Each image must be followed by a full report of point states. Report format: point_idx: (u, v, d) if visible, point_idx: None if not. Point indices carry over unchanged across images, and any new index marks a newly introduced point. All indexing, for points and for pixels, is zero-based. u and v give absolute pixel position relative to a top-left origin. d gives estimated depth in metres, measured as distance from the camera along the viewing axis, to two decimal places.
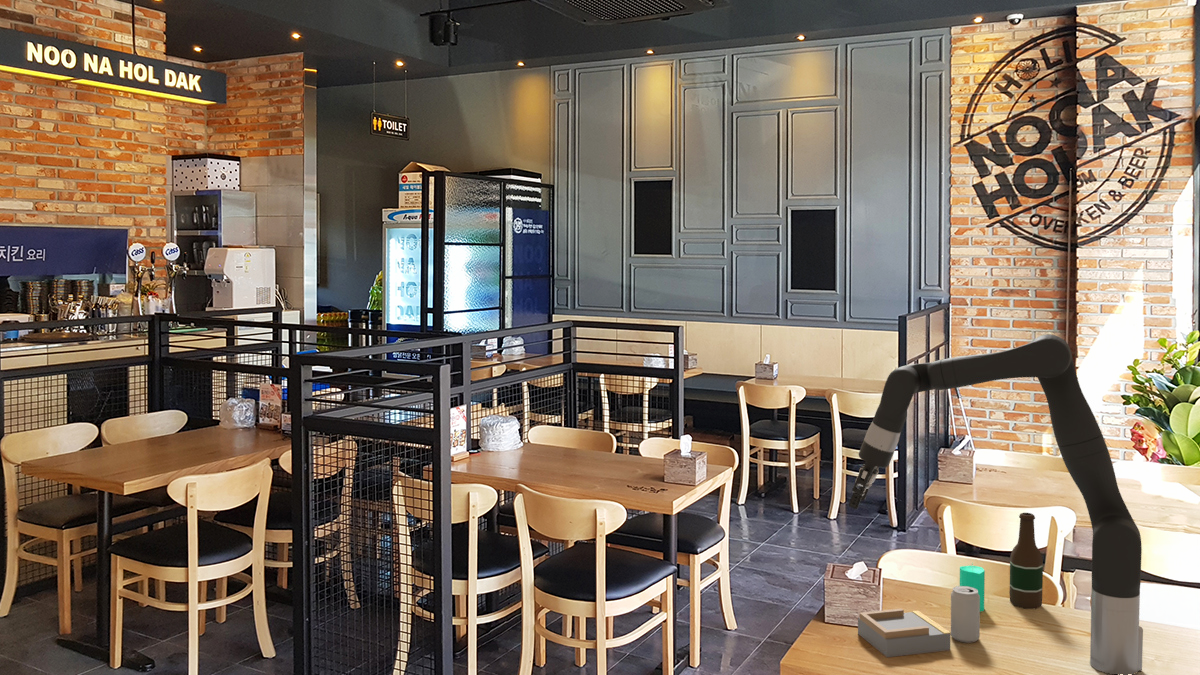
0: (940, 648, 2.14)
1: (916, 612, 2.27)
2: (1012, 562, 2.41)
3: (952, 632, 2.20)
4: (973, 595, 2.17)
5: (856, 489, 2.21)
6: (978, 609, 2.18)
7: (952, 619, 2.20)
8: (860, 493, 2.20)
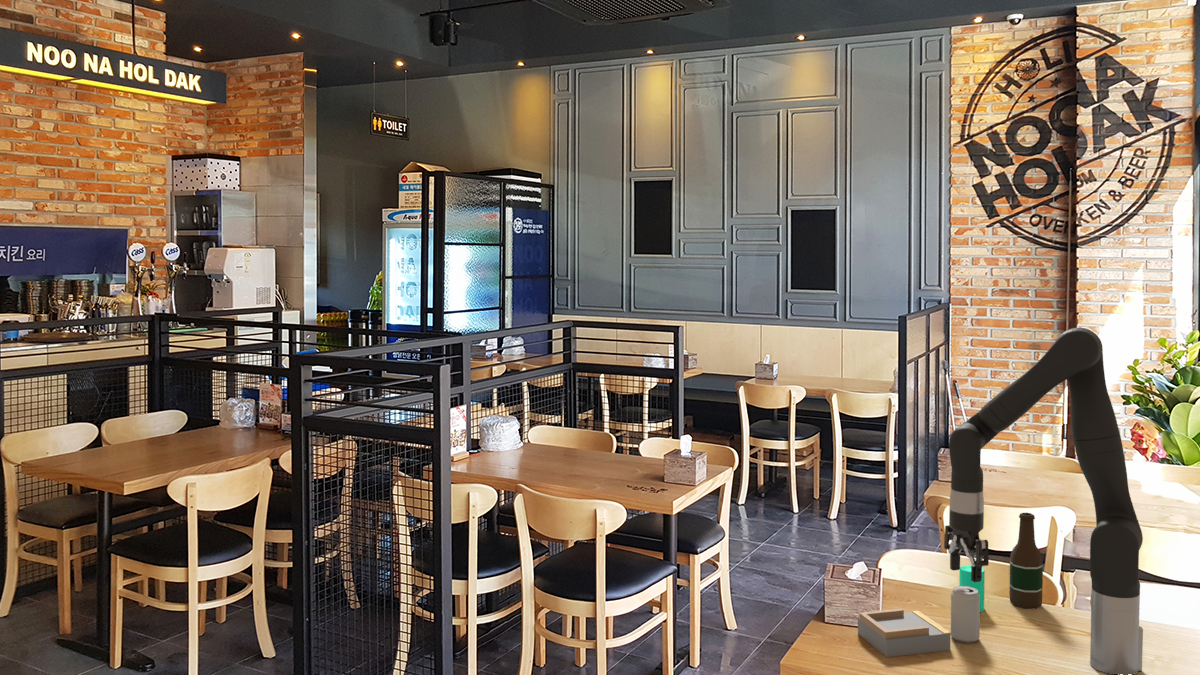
0: (940, 648, 2.14)
1: (916, 612, 2.27)
2: (1012, 562, 2.41)
3: (952, 632, 2.20)
4: (973, 595, 2.17)
5: (981, 562, 2.12)
6: (978, 609, 2.18)
7: (952, 619, 2.20)
8: (986, 564, 2.13)
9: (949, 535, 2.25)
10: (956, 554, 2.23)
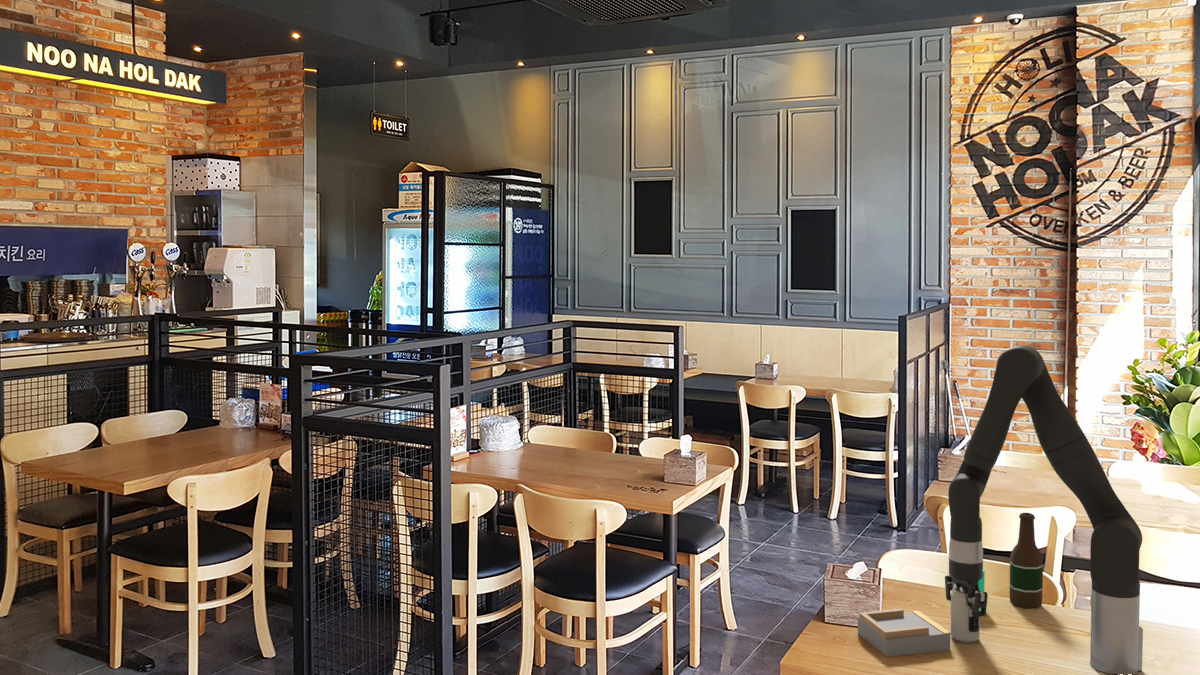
0: (940, 648, 2.14)
1: (916, 612, 2.27)
2: (1012, 562, 2.41)
3: (952, 632, 2.20)
4: None
5: (979, 613, 2.14)
6: None
7: (952, 619, 2.20)
8: (983, 615, 2.14)
9: (949, 585, 2.25)
10: None
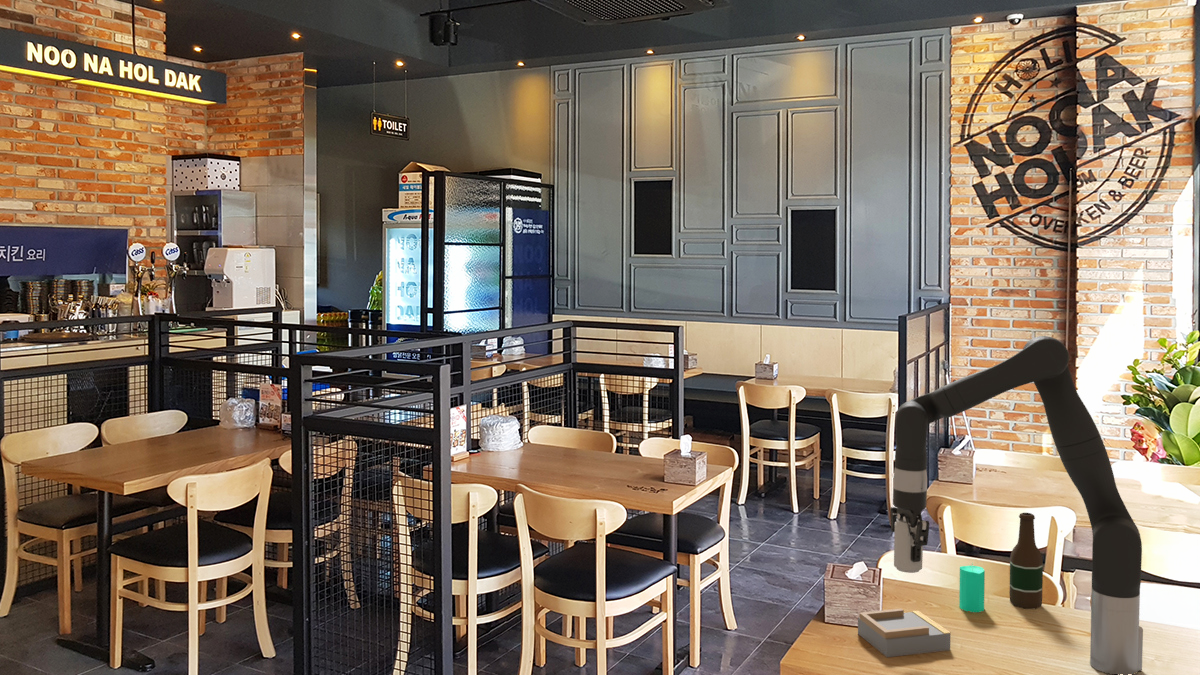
0: (940, 648, 2.14)
1: (916, 612, 2.27)
2: (1012, 562, 2.41)
3: (895, 562, 2.19)
4: None
5: (920, 542, 2.12)
6: None
7: (895, 549, 2.18)
8: (925, 544, 2.13)
9: (894, 516, 2.23)
10: None
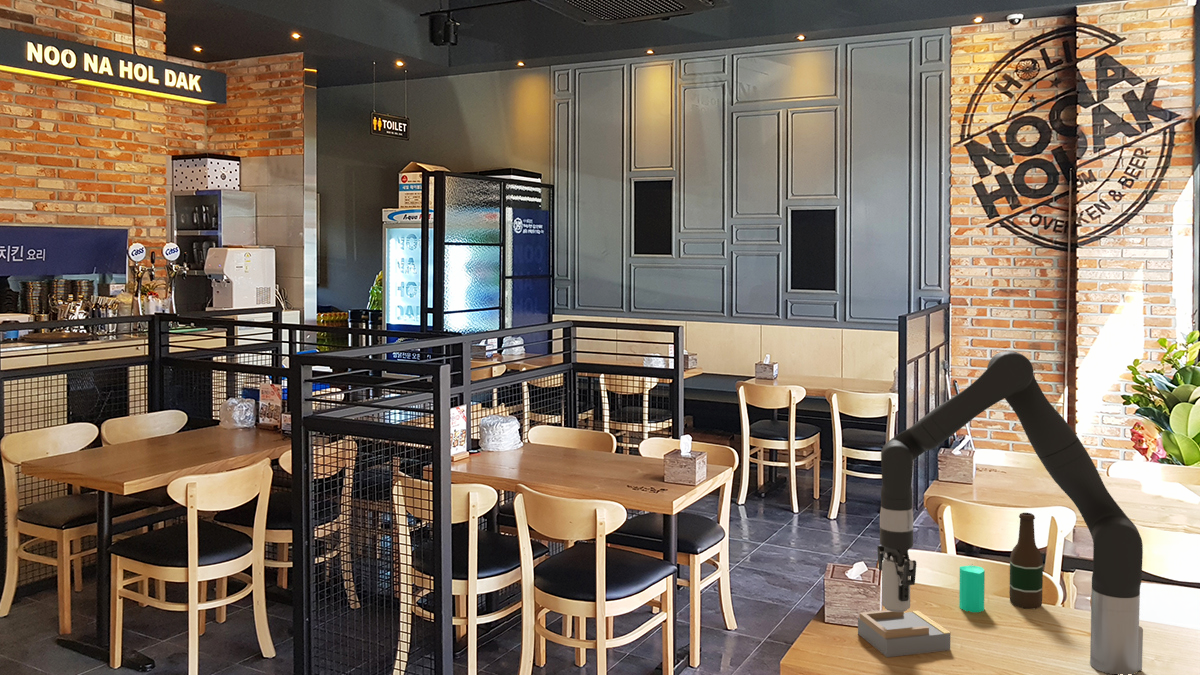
0: (940, 648, 2.14)
1: (916, 612, 2.27)
2: (1012, 562, 2.41)
3: (883, 601, 2.18)
4: None
5: (908, 581, 2.12)
6: None
7: (883, 588, 2.18)
8: (912, 584, 2.12)
9: (882, 555, 2.23)
10: None
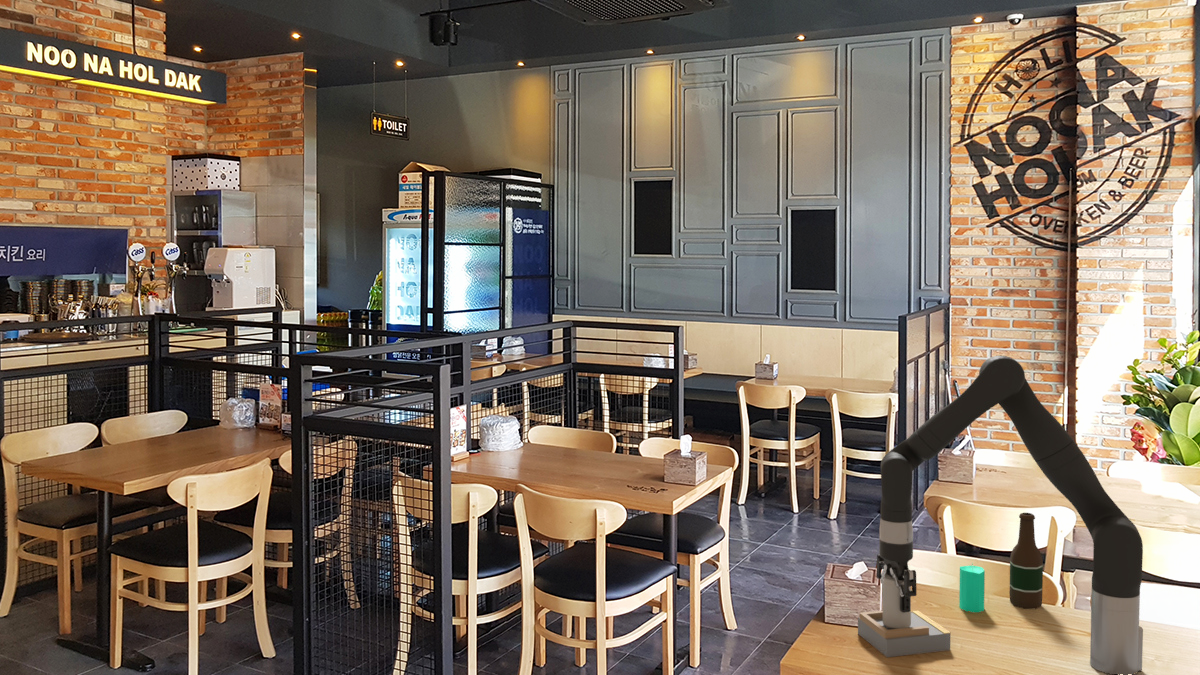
0: (940, 648, 2.14)
1: (916, 612, 2.27)
2: (1012, 562, 2.41)
3: (883, 619, 2.19)
4: None
5: (909, 593, 2.12)
6: None
7: (883, 606, 2.18)
8: (914, 594, 2.12)
9: (881, 564, 2.24)
10: None
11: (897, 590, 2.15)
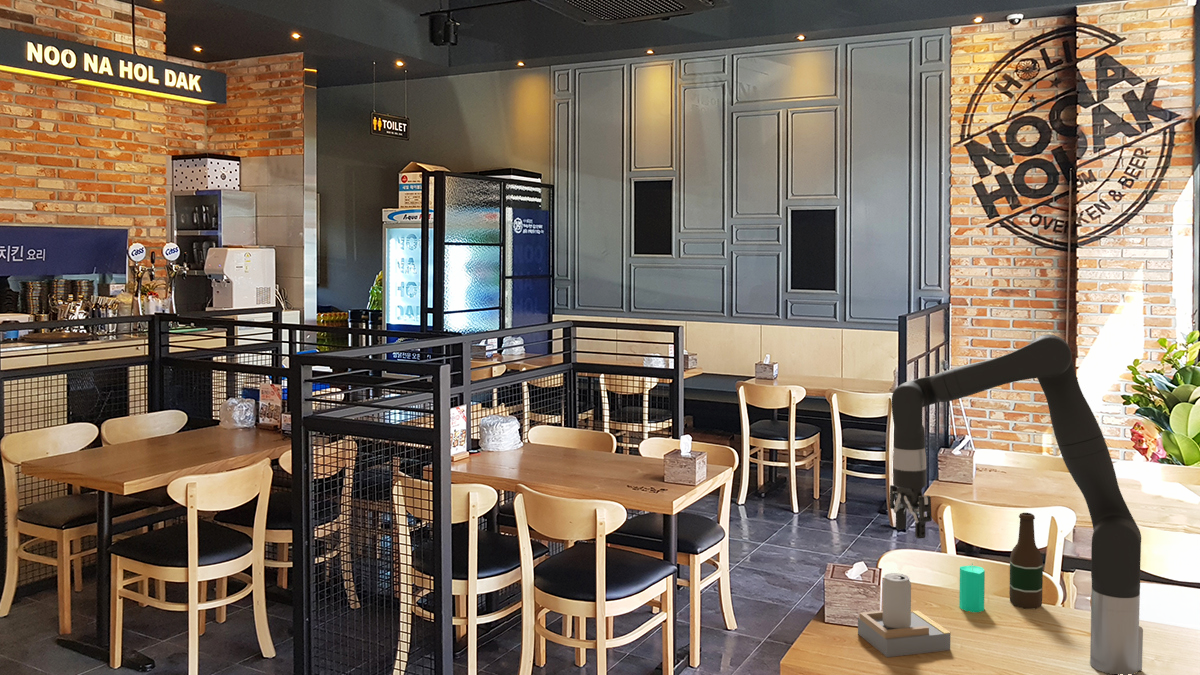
0: (940, 648, 2.14)
1: (916, 612, 2.27)
2: (1012, 562, 2.41)
3: (883, 619, 2.19)
4: (904, 582, 2.15)
5: (925, 518, 2.14)
6: (909, 596, 2.16)
7: (883, 606, 2.18)
8: (929, 520, 2.14)
9: (894, 494, 2.26)
10: (901, 513, 2.25)
11: (897, 590, 2.15)
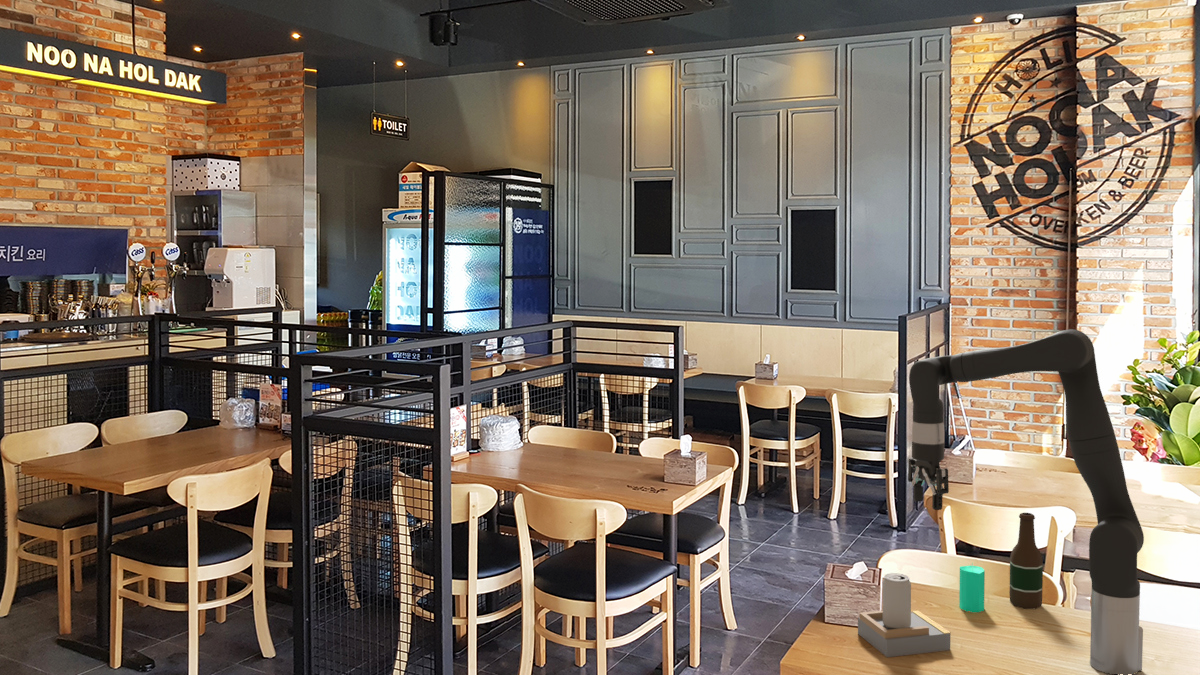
0: (940, 648, 2.14)
1: (916, 612, 2.27)
2: (1012, 562, 2.41)
3: (883, 619, 2.18)
4: (904, 582, 2.15)
5: (942, 490, 2.20)
6: (909, 596, 2.16)
7: (883, 606, 2.18)
8: (946, 491, 2.20)
9: (912, 468, 2.32)
10: (919, 486, 2.31)
11: (897, 590, 2.15)
